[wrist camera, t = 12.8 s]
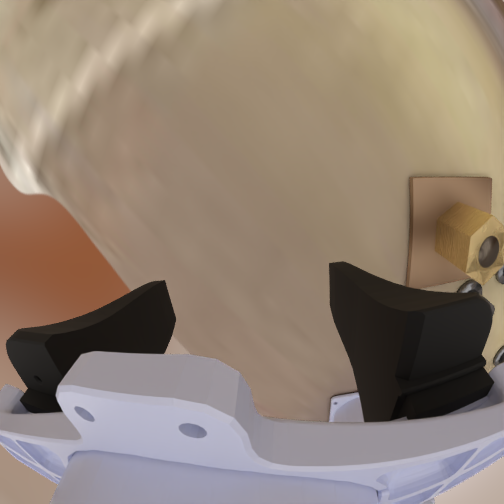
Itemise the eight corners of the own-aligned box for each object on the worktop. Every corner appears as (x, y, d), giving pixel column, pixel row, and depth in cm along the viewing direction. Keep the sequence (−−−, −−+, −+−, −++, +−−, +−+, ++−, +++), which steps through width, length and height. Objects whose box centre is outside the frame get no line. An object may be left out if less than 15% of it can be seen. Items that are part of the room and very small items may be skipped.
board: (479, 272, 22) (482, 274, 21) (405, 287, 23) (408, 290, 22) (488, 177, 19) (491, 178, 18) (409, 177, 19) (413, 178, 19)
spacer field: (499, 371, 27) (510, 386, 24) (420, 405, 29) (429, 425, 25) (540, 242, 20) (560, 253, 16) (461, 259, 22) (484, 275, 18)
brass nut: (470, 259, 21) (500, 281, 16) (432, 265, 21) (462, 291, 17) (475, 200, 19) (511, 214, 14) (437, 202, 19) (472, 217, 15)
